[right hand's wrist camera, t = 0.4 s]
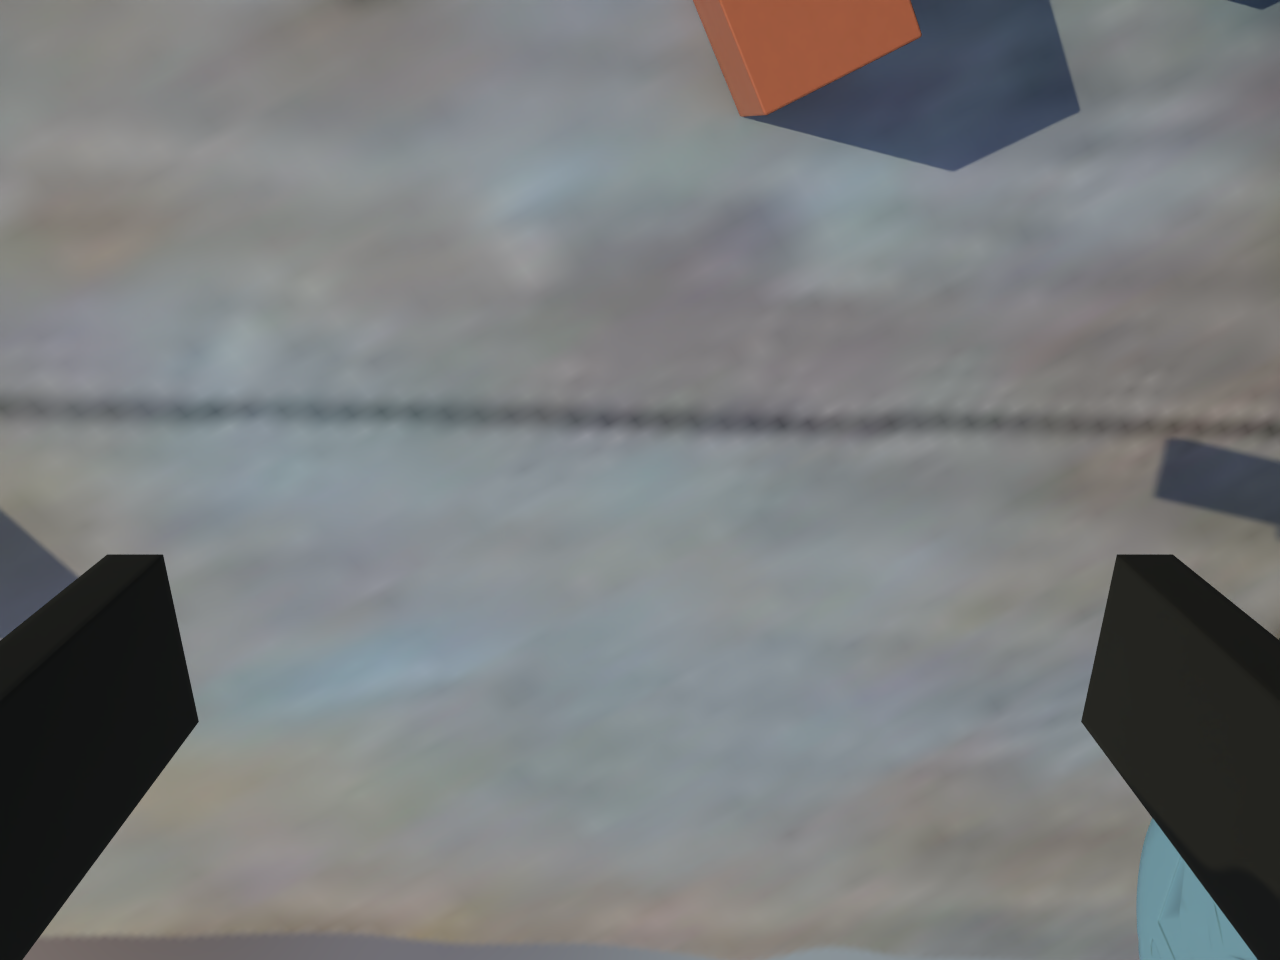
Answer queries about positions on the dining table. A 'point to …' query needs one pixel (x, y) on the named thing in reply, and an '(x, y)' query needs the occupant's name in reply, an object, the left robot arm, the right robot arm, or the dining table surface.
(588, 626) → the dining table surface
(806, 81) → the terracotta block
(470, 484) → the dining table surface
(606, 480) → the dining table surface
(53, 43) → the dining table surface
